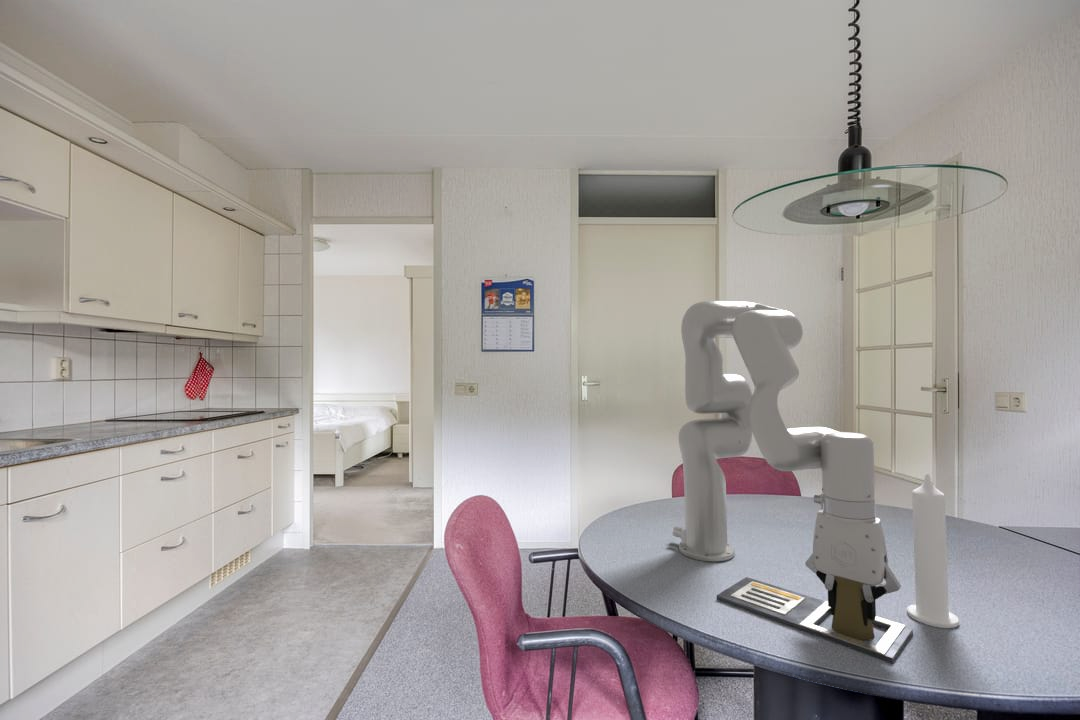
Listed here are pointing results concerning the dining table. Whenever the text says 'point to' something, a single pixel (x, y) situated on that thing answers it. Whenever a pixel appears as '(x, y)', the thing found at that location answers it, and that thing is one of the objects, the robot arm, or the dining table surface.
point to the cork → (850, 611)
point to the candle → (930, 558)
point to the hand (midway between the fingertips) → (851, 616)
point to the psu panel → (810, 616)
